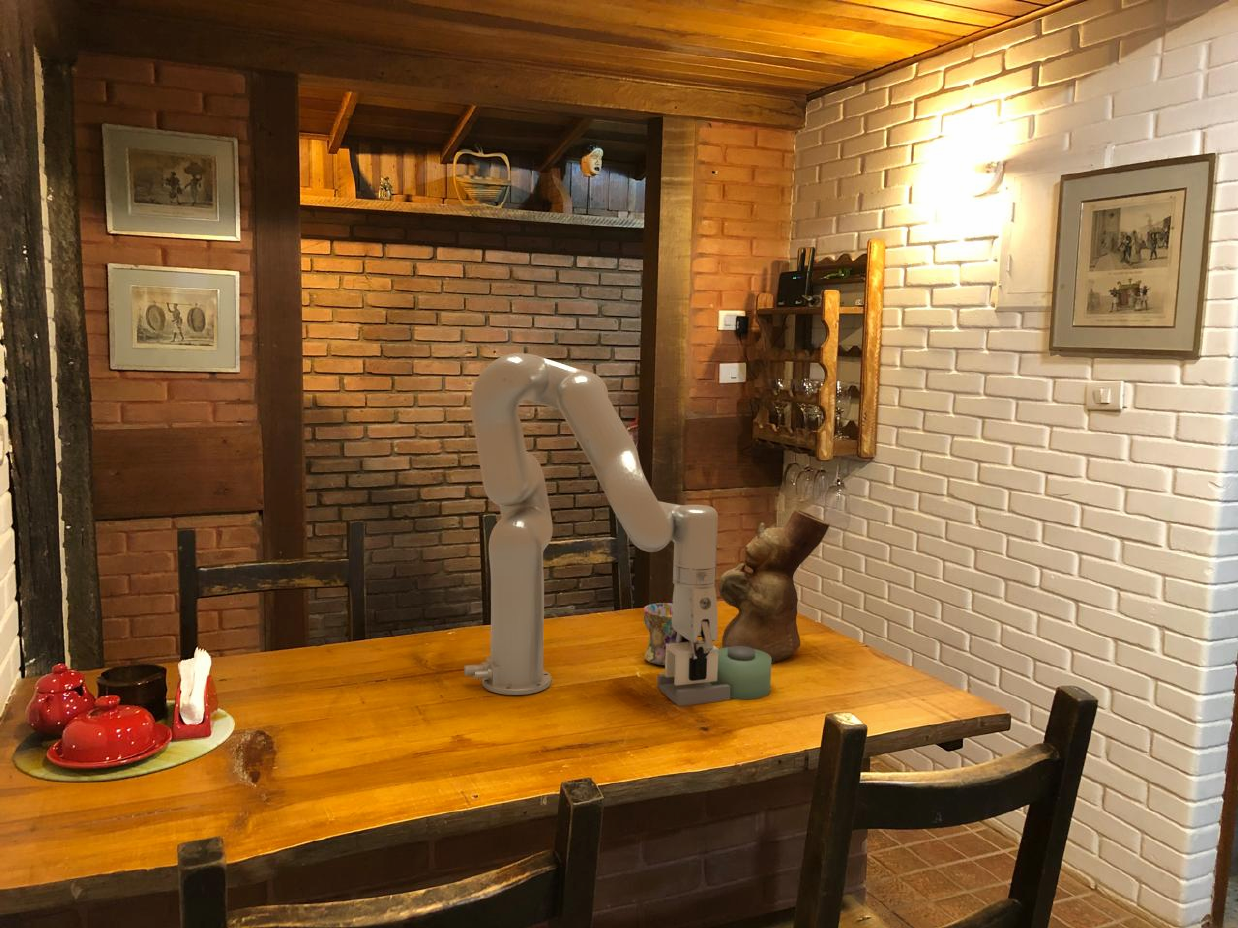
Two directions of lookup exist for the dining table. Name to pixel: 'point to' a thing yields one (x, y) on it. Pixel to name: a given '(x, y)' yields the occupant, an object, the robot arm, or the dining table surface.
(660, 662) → the floral vase
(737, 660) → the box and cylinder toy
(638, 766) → the dining table surface
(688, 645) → the arch block
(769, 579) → the ceramic vessel
